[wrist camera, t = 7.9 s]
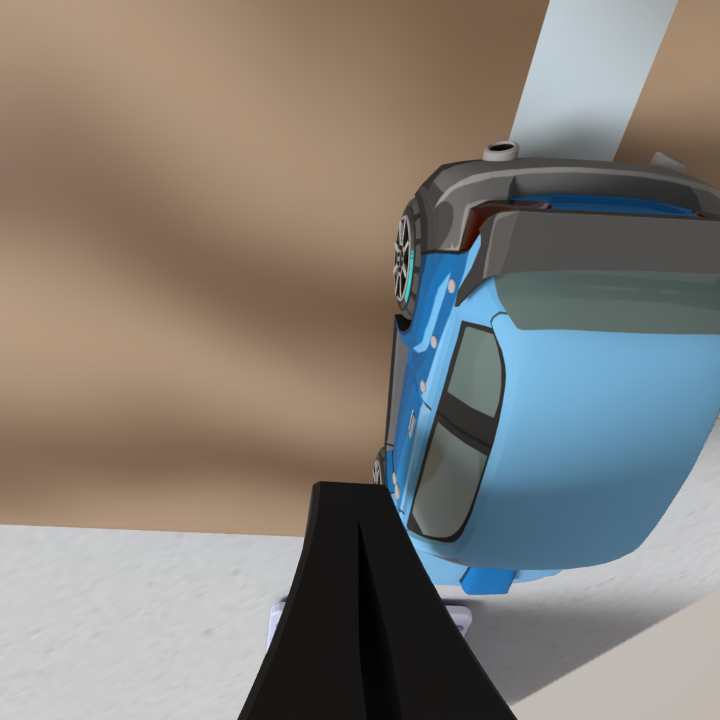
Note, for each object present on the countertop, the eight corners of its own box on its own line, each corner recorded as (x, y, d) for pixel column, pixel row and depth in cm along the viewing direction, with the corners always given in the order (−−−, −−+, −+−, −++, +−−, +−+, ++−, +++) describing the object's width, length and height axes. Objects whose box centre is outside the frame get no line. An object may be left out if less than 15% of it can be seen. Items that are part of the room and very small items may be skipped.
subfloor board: (603, 542, 20) (607, 549, 19) (-116, 511, 16) (-122, 519, 16) (1107, -229, 9) (1131, -236, 8) (-819, -853, 5) (-877, -897, 5)
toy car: (359, 512, 17) (375, 703, 13) (406, 114, 10) (479, 207, 6) (532, 511, 18) (609, 694, 13) (681, 135, 11) (947, 233, 6)
